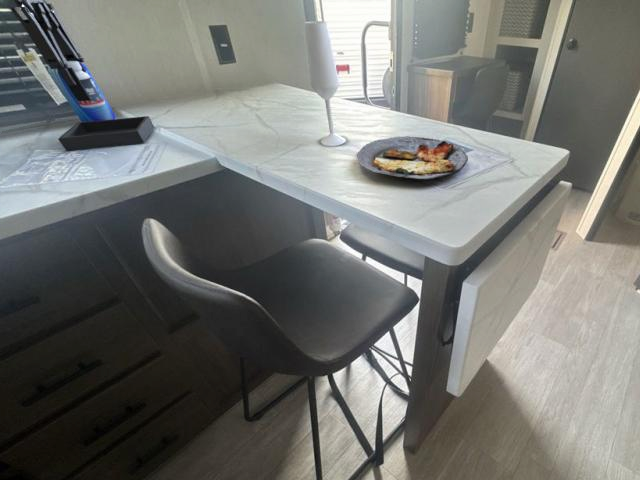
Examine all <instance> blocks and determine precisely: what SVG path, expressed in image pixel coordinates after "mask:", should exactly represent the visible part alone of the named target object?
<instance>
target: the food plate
mask: <svg viewBox="0 0 640 480" xmlns="http://www.w3.org/2000/svg"><path fill="white" fill-rule="evenodd" d="M356 159H357V161H358V163H359V164H360V165H361V166H362V167H363V168H366V169H367V170H368V171H370V172H373V173H375V174H378V173H379V174H384V175H388V176H390V177H391V176H392V177H398V178H405V179H408V178H410V179H415V180H435V179H441V178H443V177H447V176H452V175H454V174H455V173H458V172H460V171H461V170H463V168H464V167H465V166H466V164H467V162H468V161H469V157H468V154H467V153H466V152H465V151H464V150H463V149H462V148H461V147H460V146H457V145H455V144H454V143H451V142H447V141H445V140H441V139H433V138H429V137H428V138H427V137H420V136H408V135H405V136H404V135H403V136H394V137H388V138H381V139H377V140H373V141H370V142H369V143H366V144H364V145H363V146H362V147H361V149H360V150H358V152H356Z"/></svg>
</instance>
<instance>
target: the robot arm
mask: <svg viewBox="0 0 640 480" xmlns="http://www.w3.org/2000/svg"><path fill="white" fill-rule="evenodd" d="M13 2H14V5H15V6H10V7H9V9H10V11H11V13H13V15H14V17H16V18H17V20H18V21H19V23H20V24H21V25H22V27H23V28H24V30H25V32H26V33H27V35H28V36H29V38H30V39H31V41H32V42H33V44H34V46H35V47H36V48H37V51H38V52H39V53H40V55H41V56H42V58H43V59H44V61H45V63H46V64H47V66H48V65H49V67H50V68H51V69H57V70H58V71H59V73H60V75H61V76H62V78H63V79H64V81H65V82H66V84H67V85H68V87H69V89H70V90H71V92H72V93H73V95H74V96H75V98H76V99H77V101H89V100H92V99H91V98H90V96H89V95H88V93H87V91H86V90H85V88H84V86H83V85H82V83H81V82H80V80H79V78H78V77H77V75H76V73H75V72H74V70H73V69H72V68H69V66H68V64H67V62H66V60H67V61H78V62H79V64H80V65H81V68H82V69H81V70H82V71H83V72H85V73H87V72H86V71H85V69H84V67H83V66H82V64H83V63H85V59H84V57H83V56H82V54H81V53H80V51H79V49H78V47H77V46H76V44H75V43H74V41H73V40H72V37H71V36H70V34H69V32H68V31H67V29H66V27H65V26H64V24H63V23H62V21H61V19H60V17H59V16H58V13H57V11H56V9H55V6H54V5H53V4H52V3H45V1H44V0H13ZM64 57H65V58H64ZM65 59H66V60H65ZM80 62H81V63H82V64H81V63H80Z"/></svg>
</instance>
